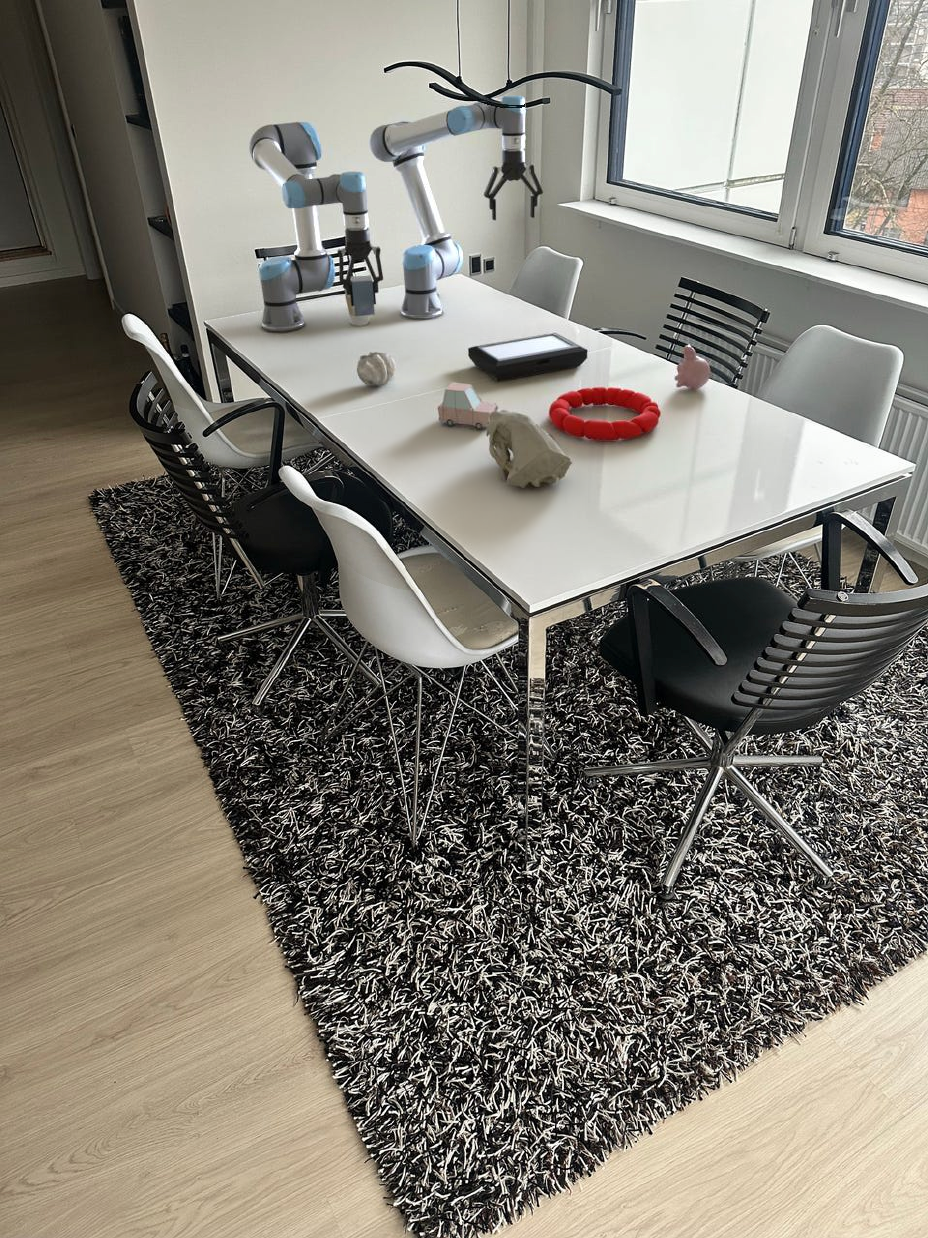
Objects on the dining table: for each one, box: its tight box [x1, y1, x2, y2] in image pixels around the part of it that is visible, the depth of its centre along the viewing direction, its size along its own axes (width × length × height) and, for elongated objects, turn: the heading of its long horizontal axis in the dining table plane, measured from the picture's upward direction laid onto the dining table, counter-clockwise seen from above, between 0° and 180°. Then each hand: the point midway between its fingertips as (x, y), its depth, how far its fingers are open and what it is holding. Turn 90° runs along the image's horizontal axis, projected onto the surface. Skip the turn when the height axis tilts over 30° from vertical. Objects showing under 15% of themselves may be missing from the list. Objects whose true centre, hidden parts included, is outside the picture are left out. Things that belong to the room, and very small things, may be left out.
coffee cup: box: [342, 279, 370, 327], centre depth 323 cm, size 10×10×15 cm
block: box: [351, 274, 376, 316], centre depth 287 cm, size 7×6×11 cm
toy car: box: [437, 382, 499, 431], centre depth 243 cm, size 9×15×10 cm, turn 70°
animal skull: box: [485, 409, 573, 489], centre depth 216 cm, size 17×25×20 cm
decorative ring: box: [548, 386, 661, 442], centre depth 242 cm, size 7×30×30 cm
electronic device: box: [467, 332, 588, 382], centre depth 281 cm, size 32×6×20 cm
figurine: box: [674, 344, 711, 390], centre depth 259 cm, size 9×11×12 cm
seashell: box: [356, 351, 396, 386], centre depth 270 cm, size 10×15×10 cm
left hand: (363, 303), depth 288 cm, fingers closed on block, 6 cm apart
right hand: (513, 218), depth 308 cm, fingers open, 13 cm apart
